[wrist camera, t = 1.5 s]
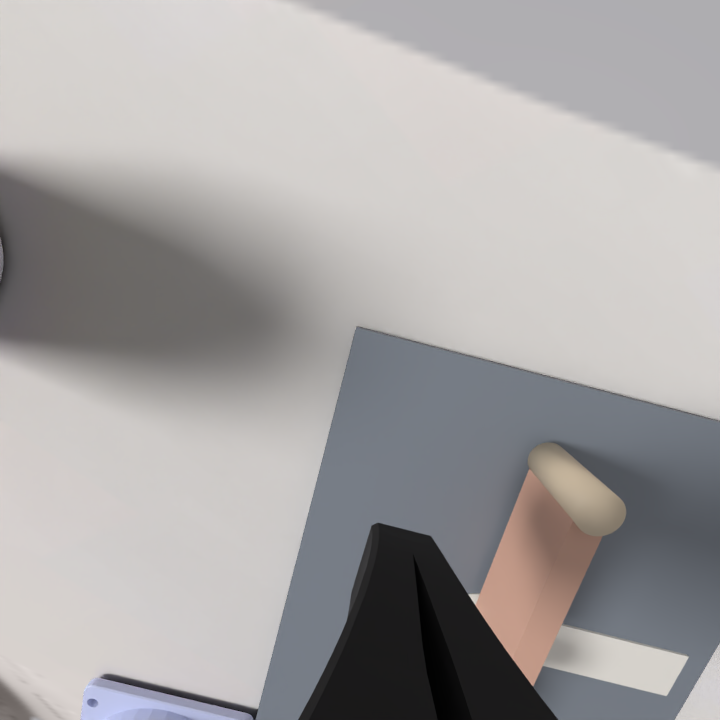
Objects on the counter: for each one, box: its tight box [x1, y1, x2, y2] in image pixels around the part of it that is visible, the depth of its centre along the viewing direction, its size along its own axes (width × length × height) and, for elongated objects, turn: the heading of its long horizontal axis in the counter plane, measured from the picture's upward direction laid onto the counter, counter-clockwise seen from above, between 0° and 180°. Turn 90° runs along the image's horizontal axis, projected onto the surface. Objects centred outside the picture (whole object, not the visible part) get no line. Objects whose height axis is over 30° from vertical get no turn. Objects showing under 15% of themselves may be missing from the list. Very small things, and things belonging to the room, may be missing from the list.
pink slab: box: [476, 442, 626, 686], centre depth 12 cm, size 8×1×3 cm, turn 166°
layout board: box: [256, 327, 720, 720], centre depth 15 cm, size 21×18×1 cm
